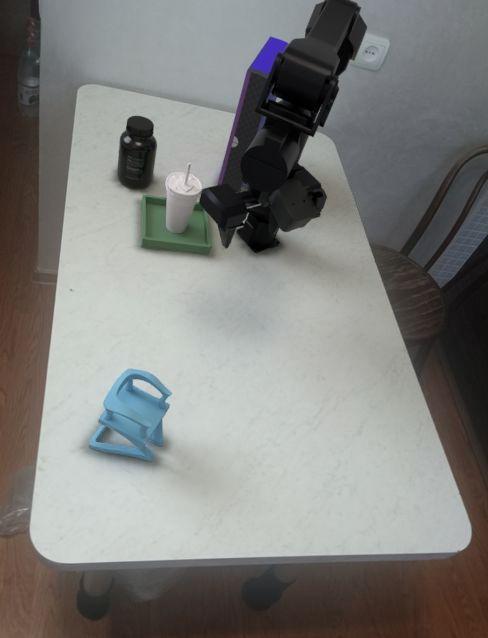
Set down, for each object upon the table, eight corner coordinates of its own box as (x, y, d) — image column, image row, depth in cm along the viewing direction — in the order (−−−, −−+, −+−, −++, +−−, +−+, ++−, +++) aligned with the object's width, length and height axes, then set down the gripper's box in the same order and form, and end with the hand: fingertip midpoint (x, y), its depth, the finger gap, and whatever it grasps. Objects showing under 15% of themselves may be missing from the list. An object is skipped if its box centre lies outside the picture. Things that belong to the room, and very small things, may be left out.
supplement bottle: (159, 181, 107) (167, 126, 98) (136, 194, 103) (143, 138, 94) (132, 163, 108) (138, 107, 99) (109, 176, 104) (113, 119, 95)
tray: (204, 211, 105) (206, 203, 103) (209, 255, 98) (211, 247, 96) (141, 202, 102) (142, 194, 100) (141, 247, 95) (142, 238, 93)
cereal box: (240, 144, 122) (270, 35, 104) (259, 152, 123) (293, 44, 104) (217, 184, 111) (247, 69, 93) (238, 193, 111) (272, 80, 93)
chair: (143, 476, 70) (155, 432, 61) (87, 446, 70) (90, 398, 61) (171, 430, 75) (185, 383, 66) (118, 403, 75) (125, 352, 66)
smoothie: (160, 237, 97) (171, 171, 86) (157, 213, 100) (167, 147, 90) (195, 239, 99) (210, 175, 88) (190, 216, 102) (205, 151, 92)
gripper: (260, 203, 63) (229, 292, 75) (365, 175, 73) (323, 258, 85) (208, 147, 67) (187, 240, 79) (314, 128, 77) (281, 214, 89)
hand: (248, 239), depth 83 cm, fingers open, 9 cm apart
